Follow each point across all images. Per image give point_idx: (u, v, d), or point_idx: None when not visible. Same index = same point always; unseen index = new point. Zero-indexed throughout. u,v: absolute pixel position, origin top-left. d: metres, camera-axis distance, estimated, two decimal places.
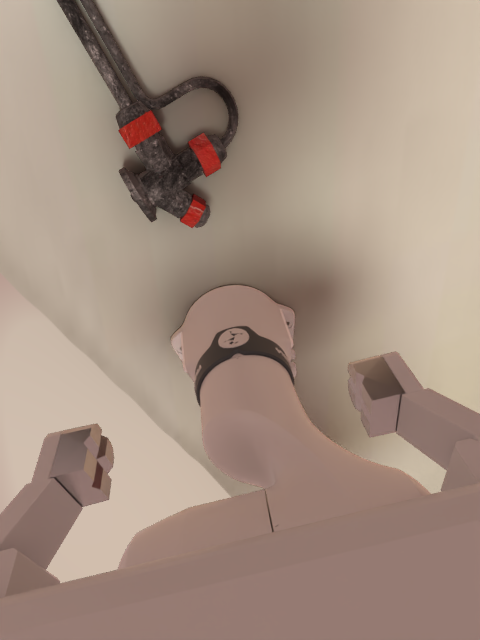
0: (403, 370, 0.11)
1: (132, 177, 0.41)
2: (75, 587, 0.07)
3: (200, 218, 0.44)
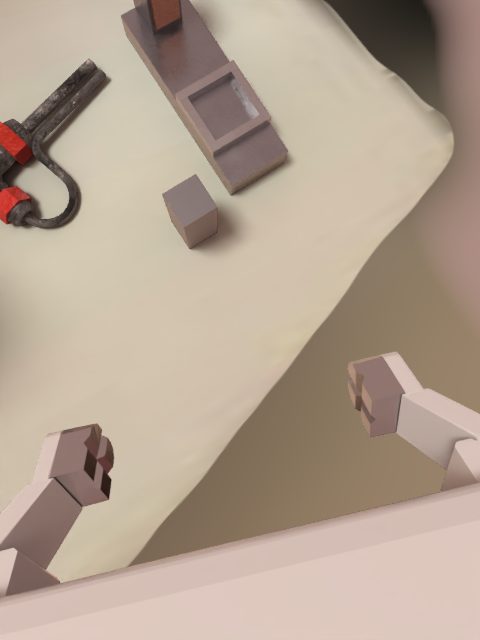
0: (403, 370, 0.11)
1: None
2: (75, 587, 0.07)
3: None
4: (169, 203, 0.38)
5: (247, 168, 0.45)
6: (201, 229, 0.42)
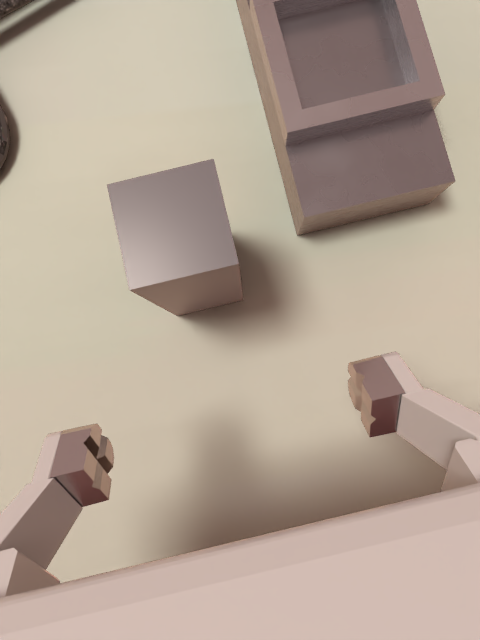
0: (403, 370, 0.11)
1: None
2: (75, 587, 0.07)
3: None
4: (117, 214, 0.14)
5: (351, 191, 0.20)
6: (197, 295, 0.18)
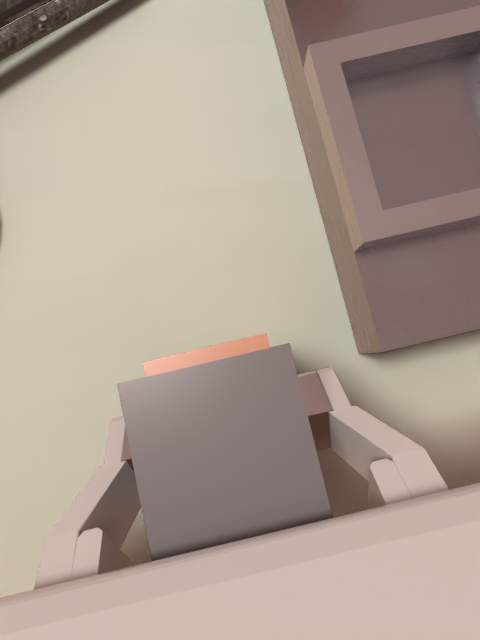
0: (334, 386, 0.11)
1: None
2: (75, 587, 0.07)
3: None
4: (133, 433, 0.09)
5: (445, 316, 0.15)
6: None
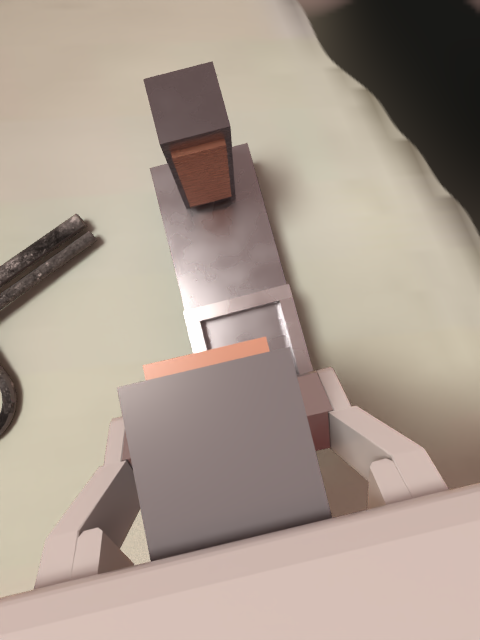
0: (334, 386, 0.11)
1: None
2: (75, 587, 0.07)
3: None
4: (133, 436, 0.09)
5: None
6: None
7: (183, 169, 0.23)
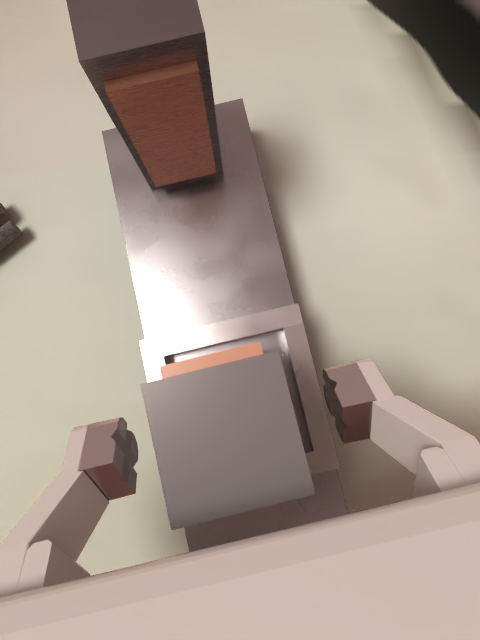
0: (375, 377, 0.11)
1: None
2: (75, 587, 0.07)
3: None
4: (154, 423, 0.11)
5: None
6: None
7: (131, 117, 0.14)
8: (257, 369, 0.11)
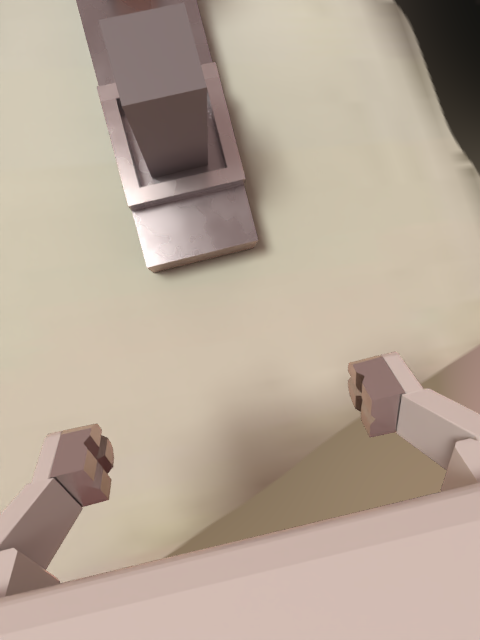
0: (403, 370, 0.11)
1: None
2: (75, 587, 0.07)
3: None
4: (108, 45, 0.17)
5: (182, 247, 0.27)
6: (172, 138, 0.22)
7: None
8: (171, 13, 0.18)
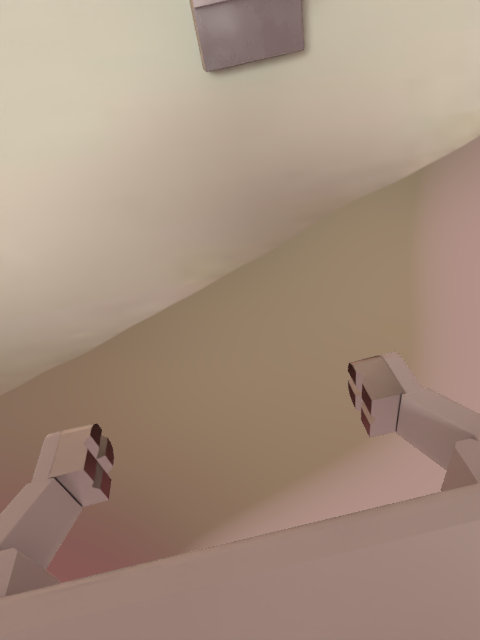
0: (403, 370, 0.11)
1: None
2: (75, 587, 0.07)
3: None
4: None
5: (237, 53, 0.30)
6: None
7: None
8: None
